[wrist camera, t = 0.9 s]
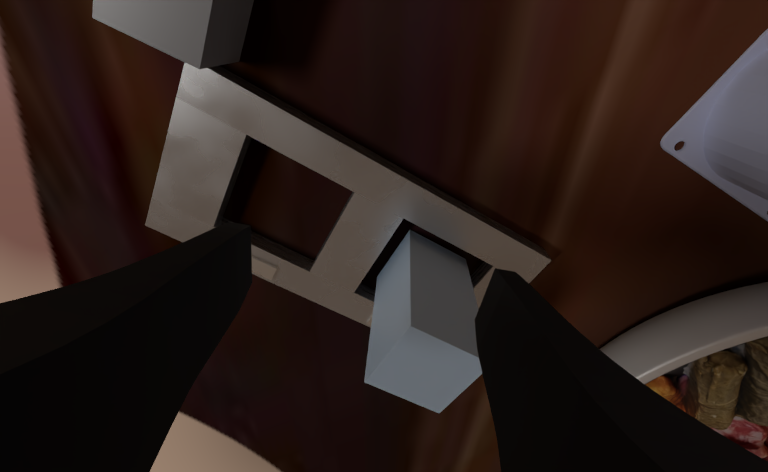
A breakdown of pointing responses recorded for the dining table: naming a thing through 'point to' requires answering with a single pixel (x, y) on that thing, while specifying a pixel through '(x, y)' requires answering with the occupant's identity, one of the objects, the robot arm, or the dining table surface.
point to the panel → (329, 158)
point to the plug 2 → (423, 325)
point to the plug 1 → (182, 26)
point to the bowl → (708, 362)
